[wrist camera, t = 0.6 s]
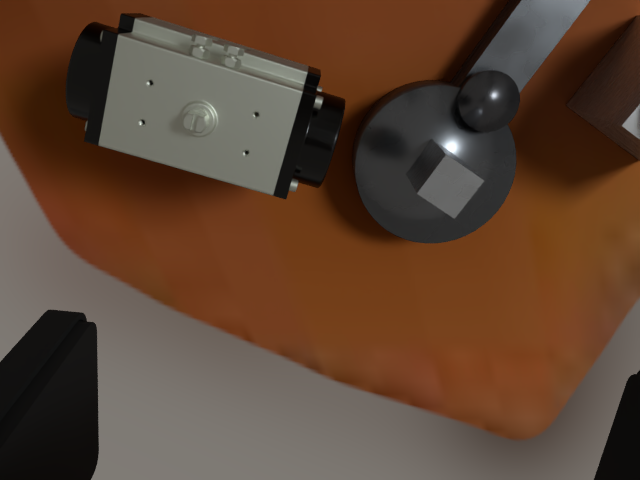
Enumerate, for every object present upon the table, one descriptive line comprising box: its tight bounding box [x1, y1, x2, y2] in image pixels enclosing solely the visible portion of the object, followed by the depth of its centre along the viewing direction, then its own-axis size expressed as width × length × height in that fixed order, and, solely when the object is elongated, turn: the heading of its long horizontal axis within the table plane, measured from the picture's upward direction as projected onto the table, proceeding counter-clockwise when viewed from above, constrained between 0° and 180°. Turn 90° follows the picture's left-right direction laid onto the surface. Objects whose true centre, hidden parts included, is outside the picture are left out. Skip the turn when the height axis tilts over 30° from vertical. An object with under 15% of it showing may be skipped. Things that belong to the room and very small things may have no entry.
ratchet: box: [352, 0, 590, 243], centre depth 32 cm, size 22×9×7 cm, turn 146°
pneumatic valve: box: [66, 13, 345, 199], centre depth 30 cm, size 6×12×12 cm, turn 73°
